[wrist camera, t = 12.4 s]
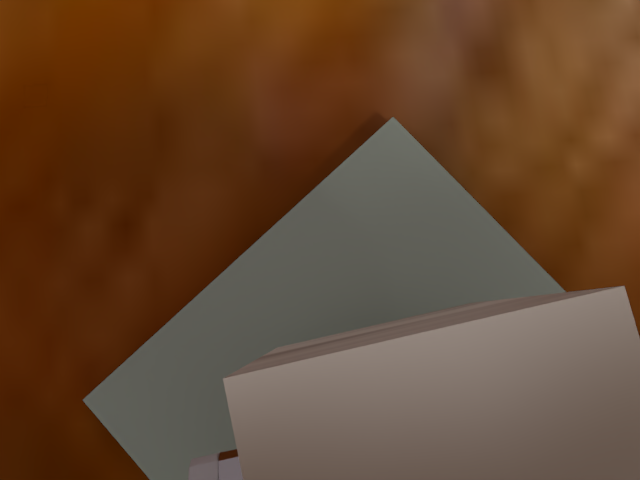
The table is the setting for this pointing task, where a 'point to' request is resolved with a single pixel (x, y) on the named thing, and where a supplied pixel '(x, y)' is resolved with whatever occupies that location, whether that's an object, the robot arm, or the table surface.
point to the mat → (313, 294)
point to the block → (451, 396)
